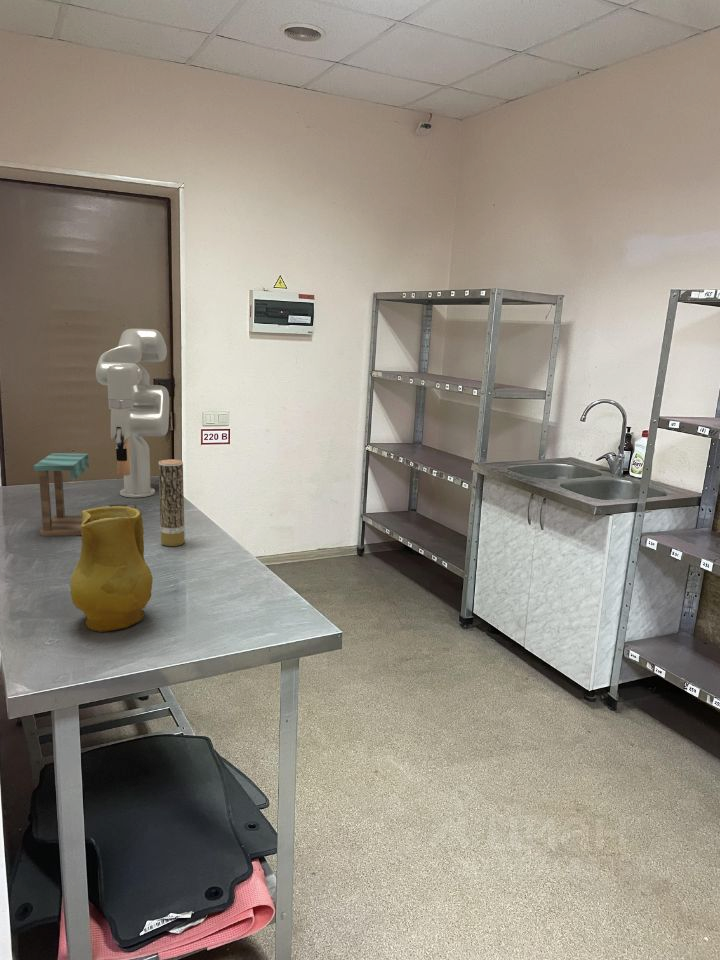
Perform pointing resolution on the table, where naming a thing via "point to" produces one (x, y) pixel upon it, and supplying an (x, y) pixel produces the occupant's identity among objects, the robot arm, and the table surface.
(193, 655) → the table surface
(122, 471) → the peg
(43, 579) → the table surface
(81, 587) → the pitcher
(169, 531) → the paper tube
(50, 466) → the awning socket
